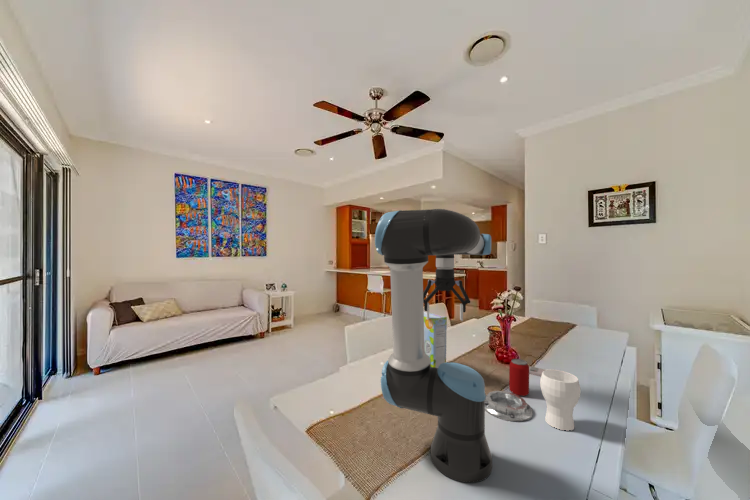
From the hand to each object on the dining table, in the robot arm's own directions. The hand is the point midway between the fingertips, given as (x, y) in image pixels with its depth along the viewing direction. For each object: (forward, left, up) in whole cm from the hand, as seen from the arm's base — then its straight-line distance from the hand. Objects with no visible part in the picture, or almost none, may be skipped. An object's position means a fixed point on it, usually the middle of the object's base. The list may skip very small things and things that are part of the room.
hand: (444, 319), depth 121 cm
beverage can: (-6, -27, -25) cm, 38 cm away
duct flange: (-18, -19, -25) cm, 36 cm away
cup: (-25, -33, -25) cm, 49 cm away
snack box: (+9, +9, -26) cm, 28 cm away
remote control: (+14, -42, -26) cm, 52 cm away
